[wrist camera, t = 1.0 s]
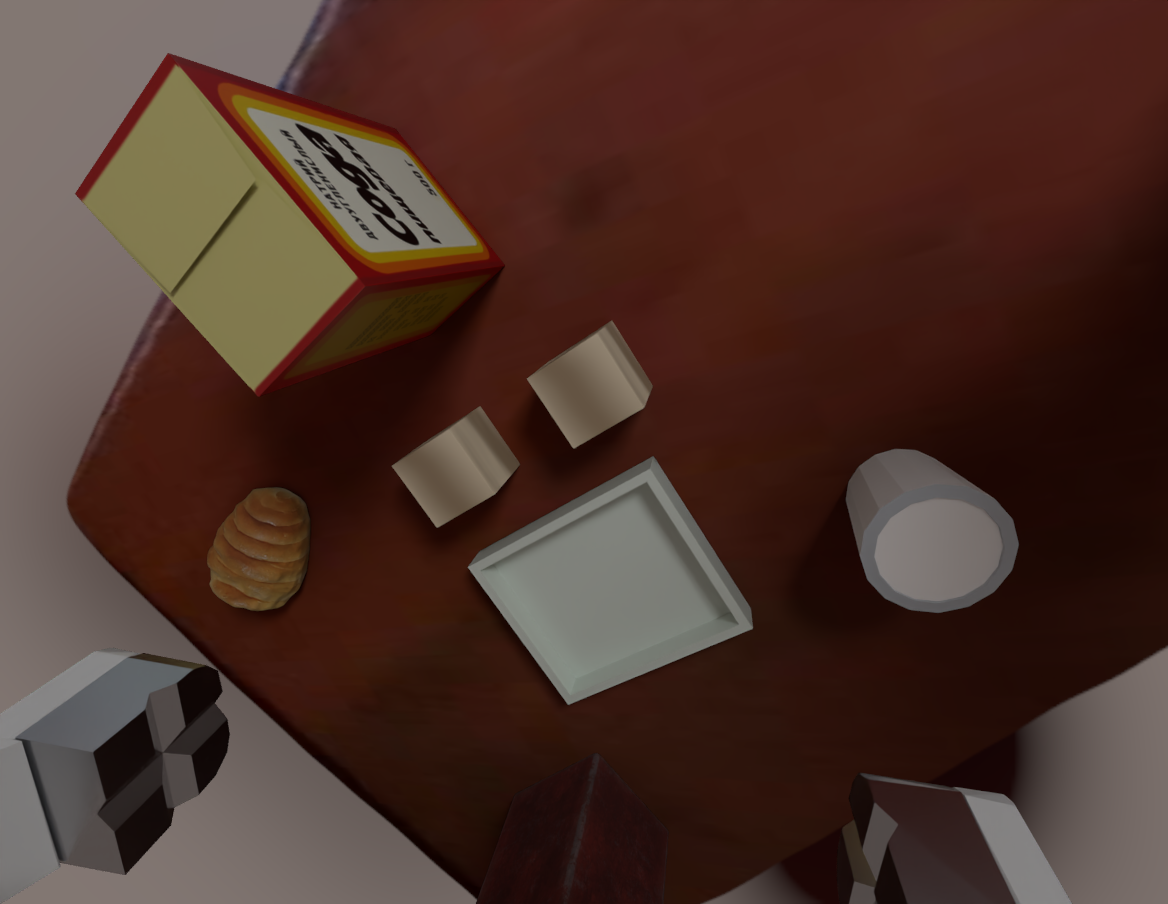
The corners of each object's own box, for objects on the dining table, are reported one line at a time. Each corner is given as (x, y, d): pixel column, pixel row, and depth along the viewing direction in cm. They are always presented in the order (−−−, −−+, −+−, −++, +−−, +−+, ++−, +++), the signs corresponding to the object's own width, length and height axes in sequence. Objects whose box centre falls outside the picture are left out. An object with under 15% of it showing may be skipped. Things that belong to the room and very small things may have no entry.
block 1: (480, 405, 39) (449, 428, 35) (520, 464, 40) (495, 494, 35) (428, 439, 41) (391, 466, 36) (467, 495, 42) (436, 528, 37)
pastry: (252, 462, 44) (212, 482, 41) (335, 507, 44) (303, 531, 41) (223, 561, 48) (184, 588, 44) (300, 603, 48) (267, 633, 44)
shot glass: (838, 552, 38) (864, 618, 31) (830, 446, 36) (855, 492, 29) (964, 542, 36) (1019, 610, 30) (962, 430, 34) (1021, 476, 28)
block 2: (612, 320, 36) (597, 333, 31) (653, 385, 37) (644, 407, 32) (549, 360, 37) (526, 378, 33) (590, 422, 38) (573, 448, 34)
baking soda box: (505, 265, 36) (359, 286, 21) (430, 335, 38) (251, 399, 23) (395, 128, 35) (158, 49, 20) (324, 209, 37) (65, 193, 22)
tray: (653, 456, 38) (650, 468, 36) (750, 608, 40) (752, 628, 38) (479, 551, 43) (467, 567, 41) (574, 683, 45) (568, 704, 43)
